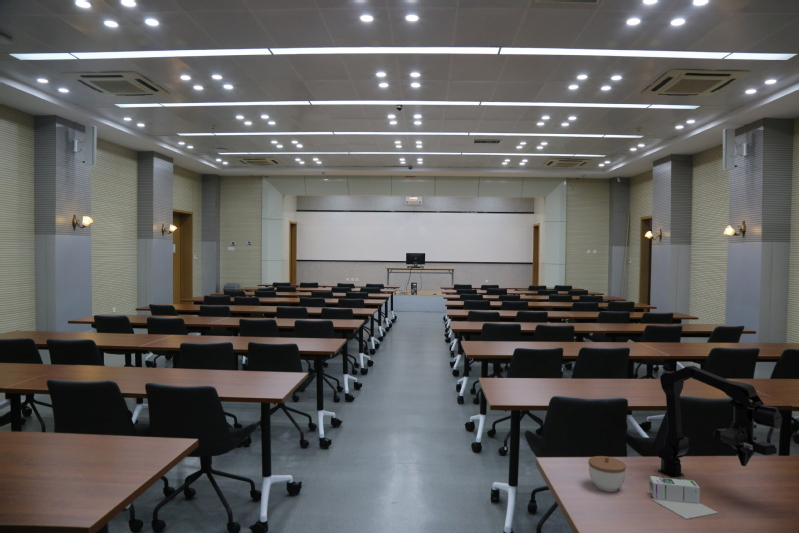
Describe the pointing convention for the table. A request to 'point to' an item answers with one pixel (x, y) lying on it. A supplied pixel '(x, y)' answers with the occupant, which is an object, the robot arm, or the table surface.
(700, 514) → the mat
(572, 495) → the table surface
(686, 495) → the syrup box
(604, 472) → the lidded bowl
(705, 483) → the table surface
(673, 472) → the robot arm
